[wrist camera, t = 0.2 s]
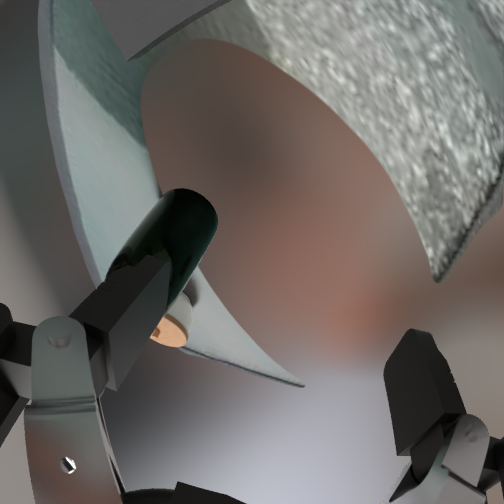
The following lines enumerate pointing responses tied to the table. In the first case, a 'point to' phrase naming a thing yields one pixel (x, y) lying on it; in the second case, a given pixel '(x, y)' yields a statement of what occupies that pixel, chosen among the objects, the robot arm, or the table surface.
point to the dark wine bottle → (172, 238)
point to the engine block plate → (148, 20)
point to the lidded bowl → (175, 324)
